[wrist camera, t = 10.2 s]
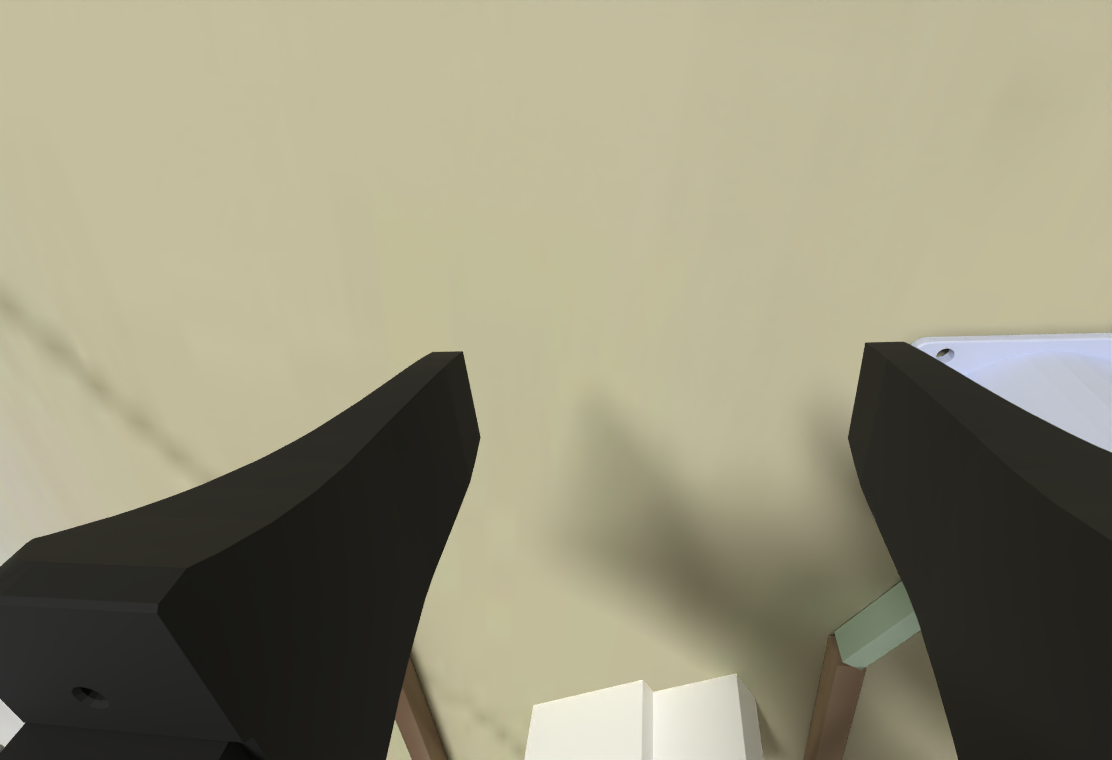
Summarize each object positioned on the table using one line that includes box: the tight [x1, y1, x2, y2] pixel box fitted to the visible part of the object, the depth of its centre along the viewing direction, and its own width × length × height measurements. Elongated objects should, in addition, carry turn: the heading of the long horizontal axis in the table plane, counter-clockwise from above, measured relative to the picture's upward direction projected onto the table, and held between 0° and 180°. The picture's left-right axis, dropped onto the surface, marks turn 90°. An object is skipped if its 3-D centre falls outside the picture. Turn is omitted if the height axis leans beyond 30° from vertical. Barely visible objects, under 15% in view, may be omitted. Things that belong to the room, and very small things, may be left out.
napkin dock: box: [395, 581, 921, 760], centre depth 33 cm, size 28×24×2 cm
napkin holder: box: [524, 674, 764, 760], centre depth 31 cm, size 15×11×6 cm
